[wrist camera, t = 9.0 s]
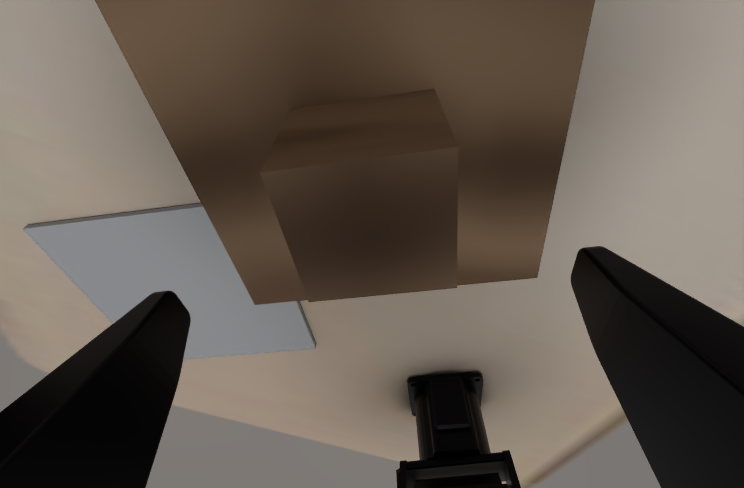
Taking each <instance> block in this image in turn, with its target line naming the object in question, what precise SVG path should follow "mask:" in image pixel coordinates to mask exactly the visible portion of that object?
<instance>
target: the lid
mask: <svg viewBox="0 0 744 488" xmlns="http://www.w3.org/2000/svg"><path fill="white" fill-rule="evenodd" d="M95 1H96V3H97V5H98V7H99V9H100V11H101V13H102V15H103V17H104V19H105V20H106V22H107V24H108V26H109V28H110V30H111V32H112V34H113V36H114V38H115V40H116V41H117V43H118V45H119V47H120V49H121V51H122V53H123V55H124V57H125V59H126V60H127V62H128V64H129V66H130V68H131V70H132V72H133V74H134V76H135V78H136V80H137V81H138V83H139V85H140V87H141V89H142V91H143V93H144V95H145V97H146V99H147V100H148V102H149V104H150V106H151V108H152V110H153V112H154V114H155V116H156V118H157V120H158V121H159V123H160V125H161V127H162V129H163V131H164V133H165V135H166V137H167V139H168V140H169V142H170V144H171V146H172V148H173V150H174V152H175V154H176V156H177V158H178V160H179V161H180V163H181V165H182V167H183V169H184V171H185V173H186V175H187V177H188V179H189V181H190V182H191V184H192V186H193V188H194V190H195V192H196V194H197V196H198V198H199V200H200V201H201V203H202V205H203V207H204V209H205V211H206V213H207V215H208V217H209V219H210V221H211V222H212V224H213V226H214V228H215V230H216V232H217V234H218V236H219V238H220V240H221V241H222V243H223V245H224V247H225V249H226V251H227V253H228V255H229V257H230V259H231V261H232V262H233V264H234V266H235V268H236V270H237V272H238V274H239V276H240V278H241V280H242V282H243V283H244V285H245V287H246V289H247V291H248V293H249V295H250V297H251V299H252V301H253V302H254V304H255V305H261V304H271V303H281V302H292V301H302V300H308V301H309V302H314V301H325V300H335V299H345V298H356V297H366V296H377V295H387V294H397V293H408V292H418V291H428V290H439V289H449V288H457V285H467V284H477V283H488V282H498V281H508V280H519V279H529V278H537V276H538V271H539V266H540V261H541V256H542V252H543V247H544V242H545V237H546V232H547V228H548V223H549V218H550V213H551V209H552V204H553V199H554V194H555V189H556V185H557V180H558V175H559V170H560V165H561V161H562V156H563V151H564V146H565V141H566V137H567V132H568V127H569V122H570V117H571V113H572V108H573V103H574V98H575V93H576V89H577V84H578V79H579V74H580V69H581V65H582V60H583V55H584V50H585V46H586V41H587V36H588V31H589V26H590V22H591V17H592V12H593V7H594V2H595V0H95Z"/></svg>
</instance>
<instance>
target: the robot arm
mask: <svg viewBox="0 0 744 488" xmlns="http://www.w3.org/2000/svg"><path fill="white" fill-rule="evenodd" d="M571 285H572V288H573V291H574V294H575V297H576V299H577V302H578V305H579V308H580V311H581V314H582V317H583V320H584V322H585V325H586V328H587V331H588V334H589V337H590V340H591V342H592V345H593V347H594V350H595V352H596V354H597V357H598V359H599V361H600V363H601V365H602V367H603V369H604V371H605V373H606V375H607V377H608V379H609V382H610V384H611V386H612V388H613V390H614V392H615V394H616V396H617V398H618V400H619V402H620V404H621V406H622V408H623V410H624V412H625V414H626V416H627V418H628V421H629V423H630V425H631V427H632V429H633V431H634V433H635V435H636V437H637V439H638V441H639V443H640V445H641V447H642V449H643V451H644V453H645V455H646V457H647V459H648V462H649V464H650V466H651V468H652V470H653V472H654V474H655V476H656V478H657V480H658V482H659V484H660V486H661V488H744V327H743V326H742V325H740V324H738V323H736V322H734V321H733V320H731V319H729V318H727V317H726V316H724V315H722V314H720V313H719V312H717V311H715V310H713V309H712V308H710V307H708V306H706V305H705V304H703V303H701V302H699V301H698V300H696V299H694V298H692V297H691V296H689V295H687V294H685V293H684V292H682V291H680V290H678V289H677V288H675V287H673V286H671V285H670V284H668V283H666V282H664V281H663V280H661V279H659V278H657V277H656V276H654V275H652V274H650V273H649V272H647V271H645V270H643V269H642V268H640V267H638V266H636V265H635V264H633V263H631V262H629V261H627V260H626V259H624V258H622V257H620V256H619V255H617V254H615V253H613V252H612V251H610V250H608V249H606V248H604V247H601V246H596V247H586V248H582V249H580V250H579V251H578V254H577V257H576V260H575V264H574V267H573V270H572V274H571ZM190 323H191V317H190V313H189V311H188V310H187V309H186V307H185V306H184V304H183V303H182V302H181V300H180V299H179V297H178V296H177V295H176V293H174V292H173V291H160V292H154V293H152V294H150V295H149V296H148V297H147V298H145V299H144V300H143V301H141V302H140V303H139V304H138V305H136V306H135V307H134V308H133V309H131V310H130V311H129V312H127V313H126V314H125V315H124V316H122V317H121V318H120V319H119V320H117V321H116V322H115V323H113V324H112V325H111V326H110V327H108V328H107V329H106V330H104V331H103V332H102V333H101V334H99V335H98V336H97V337H96V338H94V339H93V340H92V341H90V342H89V343H88V344H87V345H85V346H84V347H83V348H82V349H80V350H79V351H78V352H76V353H75V354H74V355H73V356H71V357H70V358H69V359H68V360H66V361H65V362H64V363H62V364H61V365H60V366H59V367H57V368H56V369H55V370H54V371H52V372H51V373H50V374H48V375H47V376H46V377H45V378H43V379H42V380H41V381H40V382H38V383H37V384H36V385H34V386H33V387H32V388H31V389H29V390H28V391H27V392H26V393H24V394H23V395H22V396H21V397H19V398H18V399H17V400H15V401H14V402H13V403H12V404H10V405H9V406H8V407H6V408H5V409H4V410H3V411H1V412H0V488H145V487H146V484H147V480H148V478H149V474H150V471H151V468H152V465H153V462H154V459H155V455H156V452H157V449H158V446H159V443H160V440H161V437H162V433H163V430H164V427H165V424H166V421H167V417H168V414H169V411H170V408H171V405H172V402H173V398H174V395H175V392H176V388H177V385H178V381H179V377H180V373H181V368H182V363H183V358H184V353H185V348H186V343H187V338H188V333H189V328H190ZM407 383H408V390H409V397H410V403H411V410H412V415H413V416H416V423H417V434H418V445H419V456H420V460H419V461H409V462H407V461H400V468H399V469H398V470H396V473H397V488H521V487H520V483H519V480H518V477H517V474H516V470H515V467H514V464H513V460H512V457H511V454H510V451H509V450H507V451H502V452H500V453H491V452H490V448H489V443H488V439H487V435H486V430H485V426H484V422H483V417H482V413H481V409H480V407H481V397H482V387H483V377H482V374H481V373H466V374H453V375H440V376H427V377H414V378H409V379H408V380H407ZM501 481H506V483H507V484H502V482H501Z"/></svg>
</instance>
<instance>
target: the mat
mask: <svg viewBox="0 0 744 488" xmlns="http://www.w3.org/2000/svg"><path fill="white" fill-rule="evenodd" d="M23 230H24V231H25V232H26V233H27V234H28V235H29V236H30V237H31V238H32V240H33V241H34V242H35V243H36V244H37V245H38V246H39V247H40V248H41V249H42V250H43V251H44V252H45V253H46V254H47V255H48V256H49V257H50V258H51V260H52V261H53V262H54V263H55V264H56V265H57V266H58V267H59V268H60V269H61V270H62V271H63V272H64V273H65V274H66V275H67V276H68V277H69V278H70V280H71V281H72V282H73V283H74V284H75V285H76V286H77V287H78V288H79V289H80V290H81V291H82V292H83V293H84V294H85V295H86V296H87V297H88V298H89V299H90V301H91V302H92V303H93V304H94V305H95V306H96V307H97V308H98V309H99V310H100V311H101V312H102V313H103V314H104V315H105V316H106V317H107V318H108V319H109V321H110V322H111V323H112V324H113V323H115V322H116V321H117V320H119V319H120V318H121V317H122V316H124V315H125V314H126V313H127V312H129V311H130V310H131V309H133V308H134V307H135V306H136V305H138V304H139V303H140V302H141V301H143V300H144V299H145V298H147V297H148V296H149V295H150V294H152V293H154V292H160V291H173V292H174V293H176V295H177V296H178V297H179V299H180V300H181V302H182V303H183V304H184V306H185V307H186V309H187V310H188V311H189V313H190V317H191V323H190V328H189V333H188V338H187V343H186V348H185V353H184V358H183V360H186V359H198V358H209V357H221V356H233V355H245V354H256V353H268V352H280V351H292V350H303V349H315V348H316V342H315V340H314V337H313V335H312V332H311V330H310V327H309V325H308V322H307V320H306V317H305V315H304V313H303V310H302V308H301V305H300V303H299V301H292V302H281V303H271V304H261V305H255V304H254V302H253V301H252V299H251V297H250V295H249V293H248V291H247V289H246V287H245V285H244V283H243V282H242V280H241V278H240V276H239V274H238V272H237V270H236V268H235V266H234V264H233V262H232V261H231V259H230V257H229V255H228V253H227V251H226V249H225V247H224V245H223V243H222V241H221V240H220V238H219V236H218V234H217V232H216V230H215V228H214V226H213V224H212V222H211V221H210V219H209V217H208V215H207V213H206V211H205V209H204V207H203V205H202V203H198V204H190V205H182V206H174V207H166V208H158V209H150V210H142V211H134V212H126V213H118V214H110V215H102V216H94V217H86V218H78V219H70V220H62V221H54V222H46V223H38V224H30V225H27V226H25V227H24V228H23Z"/></svg>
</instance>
